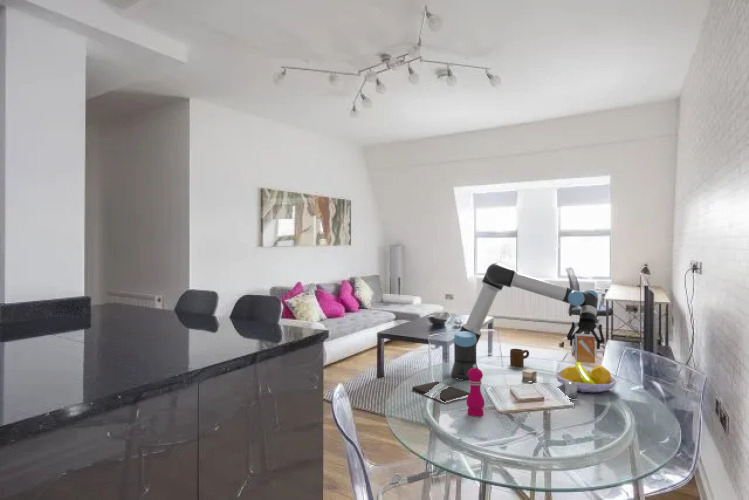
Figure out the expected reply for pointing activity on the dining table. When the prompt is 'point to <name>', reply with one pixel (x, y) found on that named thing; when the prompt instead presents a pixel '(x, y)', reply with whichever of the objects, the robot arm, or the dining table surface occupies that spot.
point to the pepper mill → (475, 392)
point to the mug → (518, 357)
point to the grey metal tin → (571, 389)
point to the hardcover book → (445, 394)
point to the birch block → (529, 375)
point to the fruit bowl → (587, 378)
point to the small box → (584, 348)
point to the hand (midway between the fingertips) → (583, 352)
